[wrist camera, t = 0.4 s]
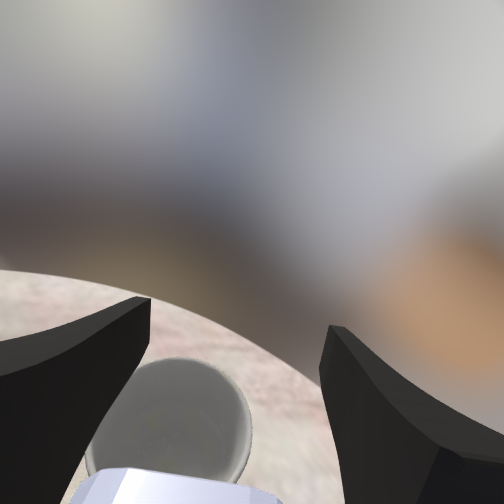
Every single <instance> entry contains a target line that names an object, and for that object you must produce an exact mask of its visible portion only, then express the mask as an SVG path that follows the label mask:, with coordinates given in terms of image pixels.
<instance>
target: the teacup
mask: <svg viewBox="0 0 504 504" xmlns="http://www.w3.org/2000/svg"><path fill="white" fill-rule="evenodd" d="M252 429H253V428H252V419H251V414H250V410H249V407H248V404H247V401H246V399H245V397H244V395H243V393H242V391H241V390H240V388H239V387H238V386H237V384H236V383H235V382H234V381H233V380H232V378H231V377H230V376H228V375H227V374H226V373H225V372H224V371H222V370H220V369H219V368H217V367H216V366H214V365H212V364H210V363H208V362H205V361H203V360H199V359H194V358H189V357H168V358H162V359H158V360H154V361H151V362H148V363H146V364H143V365H141V366H139V367H137V368H136V370H135V371H134V373H133V374H132V376H131V377H130V379H129V380H128V382H127V383H126V385H125V386H124V388H123V389H122V391H121V392H120V394H119V395H118V397H117V398H116V400H115V401H114V403H113V404H112V406H111V407H110V409H109V410H108V412H107V413H106V415H105V417H104V418H103V420H102V422H101V423H100V425H99V427H98V429H97V431H96V433H95V435H94V436H93V438H92V440H91V442H90V444H89V446H88V448H87V450H86V452H85V454H84V455H85V462H86V468H87V472H88V475H89V477H90V476H92V475H93V474H95V473H97V472H98V471H100V470H103V469H107V468H129V467H131V468H138V469H144V470H151V471H157V472H164V473H170V474H176V475H183V476H189V477H196V478H202V479H209V480H215V481H221V482H228V483H234V484H236V482H237V481H238V479H239V478H240V476H241V474H242V472H243V470H244V468H245V466H246V464H247V461H248V458H249V455H250V450H251V444H252Z"/></svg>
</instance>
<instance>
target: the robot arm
mask: <svg viewBox="0 0 504 504" xmlns="http://www.w3.org/2000/svg"><path fill="white" fill-rule="evenodd" d="M150 313H151V298H144V297H137V296H136V297H132V298H130V299H127V300H125V301H122V302H120V303H117V304H115V305H113V306H110V307H108V308H106V309H103V310H101V311H99V312H96V313H94V314H91V315H89V316H86V317H84V318H81V319H78V320H76V321H73V322H70V323H68V324H65V325H62V326H59V327H56V328H52V329H49V330H46V331H42V332H39V333H35V334H31V335H27V336H22V337H18V338H14V339H9V340H5V341H1V342H0V504H60V502H61V500H62V498H63V496H64V494H65V492H66V490H67V488H68V486H69V483H70V481H71V479H72V477H73V475H74V473H75V471H76V469H77V467H78V466H79V464H80V462H81V460H82V458H83V456H84V454H85V452H86V450H87V448H88V446H89V444H90V442H91V440H92V438H93V436H94V435H95V433H96V431H97V429H98V427H99V425H100V423H101V422H102V420H103V418H104V417H105V415H106V413H107V412H108V410H109V409H110V407H111V406H112V404H113V403H114V401H115V400H116V398H117V397H118V395H119V394H120V392H121V391H122V389H123V388H124V386H125V385H126V383H127V382H128V380H129V379H130V377H131V376H132V374H133V373H134V371H135V370H136V368H137V366H138V365H139V363H140V361H141V359H142V357H143V355H144V353H145V351H146V349H147V347H148V344H149V340H150ZM319 373H320V382H321V390H322V395H323V399H324V403H325V407H326V411H327V415H328V419H329V423H330V426H331V430H332V434H333V438H334V442H335V446H336V450H337V455H338V460H339V466H340V472H341V479H342V485H343V492H344V499H345V504H504V435H503V434H500V433H498V432H496V431H494V430H492V429H490V428H488V427H486V426H484V425H482V424H480V423H478V422H476V421H474V420H472V419H470V418H469V417H467V416H465V415H463V414H461V413H459V412H457V411H456V410H454V409H452V408H450V407H449V406H447V405H445V404H444V403H442V402H440V401H438V400H437V399H435V398H434V397H432V396H430V395H429V394H427V393H426V392H424V391H423V390H421V389H420V388H418V387H417V386H415V385H414V384H413V383H411V382H410V381H408V380H407V379H405V378H404V377H403V376H401V375H400V374H399V373H398V372H396V371H395V370H394V369H393V368H391V367H390V366H389V365H388V364H386V363H385V362H384V361H383V360H382V359H380V358H379V357H378V356H377V355H376V354H375V353H373V352H372V351H371V350H370V349H369V348H368V347H367V346H366V345H365V344H364V343H362V342H361V341H360V340H359V339H358V338H357V337H356V336H355V335H353V334H352V333H351V332H350V331H349V330H348V329H346V328H345V327H341V326H333V325H329V328H328V332H327V336H326V341H325V345H324V349H323V353H322V357H321V362H320V365H319ZM69 504H283V503H282V502H281V501H280V500H279V499H278V498H277V497H276V496H275V495H274V494H271V493H268V492H265V491H263V490H260V489H257V488H254V487H252V486H247V485H241V484H234V483H228V482H221V481H215V480H209V479H202V478H196V477H189V476H183V475H176V474H170V473H164V472H157V471H151V470H144V469H138V468H131V467H129V468H107V469H103V470H100V471H98V472H97V473H95V474H93V475H92V476H90V477H88V478H87V479H85V480H83V481H82V482H81V483H80V485H79V487H78V489H77V490H76V492H75V494H74V495H73V497H72V499H71V501H70V502H69Z"/></svg>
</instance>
